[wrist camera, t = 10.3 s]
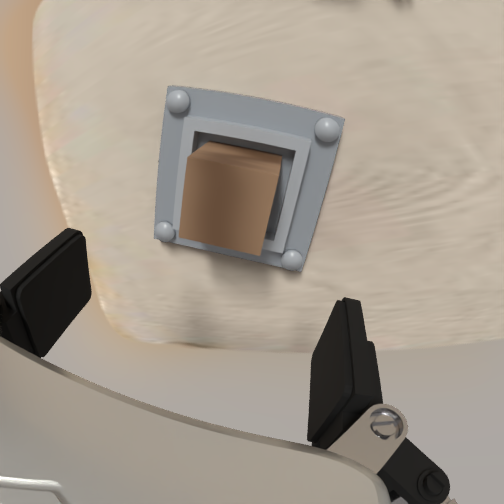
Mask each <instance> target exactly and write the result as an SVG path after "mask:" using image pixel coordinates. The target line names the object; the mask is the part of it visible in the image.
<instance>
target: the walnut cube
mask: <svg viewBox="0 0 504 504" xmlns="http://www.w3.org/2000/svg"><path fill="white" fill-rule="evenodd" d="M281 160H282V155H278V154H274V153H269V152H265V151H260V150H255V149H251V148H246V147H241V146H236V145H231V144H226V143H220V142H215V141H209V142H207V143H206V144H204V145H203V146H202V147H200V148H199V149H197V150H196V151H195V152H193V153H192V154H191V155H189V156H188V157H187V164H186V172H185V180H184V189H183V197H182V207H181V217H180V227H179V238H184V239H188V240H192V241H197V242H201V243H205V244H210V245H214V246H218V247H223V248H227V249H232V250H236V251H240V252H245V253H249V254H253V255H258V256H260V254H261V250H262V246H263V241H264V237H265V233H266V229H267V224H268V220H269V216H270V212H271V208H272V203H273V199H274V195H275V191H276V186H277V182H278V178H279V173H280V166H281Z"/></svg>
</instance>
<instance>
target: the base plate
mask: <svg viewBox="0 0 504 504" xmlns="http://www.w3.org/2000/svg"><path fill="white" fill-rule="evenodd" d="M344 121H345V119H344V118H343V117H339V116H336V115H332V114H328V113H325V112H321V111H317V110H313V109H309V108H305V107H300V106H296V105H292V104H287V103H283V102H278V101H273V100H268V99H263V98H258V97H252V96H247V95H241V94H235V93H229V92H222V91H215V90H208V89H201V88H192V87H183V86H168V88H167V95H166V103H165V110H164V118H163V127H162V135H161V145H160V155H159V166H158V178H157V191H156V206H155V225H154V239H159V240H160V241H162V242H172V243H176V244H180V245H185V246H189V247H194V248H198V249H202V250H207V251H211V252H215V253H220V254H224V255H229V256H233V257H238V258H242V259H246V260H251V261H255V262H260V263H264V264H269V265H273V266H278V267H282V268H285V269H287V270H290V271H294V270H296V271H300V272H301V271H302V268H303V265H304V261H305V258H306V255H307V252H308V249H309V245H310V242H311V239H312V236H313V232H314V229H315V226H316V222H317V219H318V216H319V212H320V209H321V205H322V202H323V198H324V195H325V191H326V188H327V184H328V181H329V177H330V174H331V170H332V166H333V163H334V159H335V155H336V152H337V148H338V144H339V140H340V137H341V133H342V129H343V125H344ZM209 141H215V142H220V143H226V144H231V145H236V146H241V147H246V148H251V149H255V150H260V151H265V152H269V153H274V154H278V155H282V160H281V166H280V173H279V178H278V182H277V186H276V191H275V195H274V199H273V203H272V208H271V212H270V216H269V220H268V224H267V229H266V233H265V237H264V241H263V246H262V250H261V254H260V256H258V255H253V254H249V253H245V252H240V251H236V250H232V249H227V248H223V247H218V246H214V245H210V244H205V243H201V242H197V241H192V240H188V239H184V238H179V227H180V217H181V207H182V197H183V189H184V180H185V172H186V164H187V157H188V156H189V155H191V154H192V153H193V152H195V151H196V150H197V149H199V148H200V147H202V146H203V145H204V144H206V143H207V142H209Z"/></svg>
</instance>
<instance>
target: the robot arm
mask: <svg viewBox="0 0 504 504" xmlns="http://www.w3.org/2000/svg"><path fill="white" fill-rule="evenodd" d="M0 288H1V292H0V504H457V502H456V501H455V499H452V500H450V498H449V497H448V494H449V490H450V484H449V479H448V477H447V475H446V474H445V473H444V471H443V470H442V469H440V468H439V467H438V466H437V465H436V464H435V463H434V462H432V461H431V460H430V459H429V458H428V457H427V456H426V455H425V454H424V453H423V452H421V451H420V450H419V449H418V448H417V447H416V446H415V445H414V444H413V443H412V442H410V441H409V440H408V439H407V438H406V435H407V431H408V425H407V421H406V419H405V417H404V415H403V414H402V413H401V412H400V411H399V410H398V409H397V408H395V407H393V406H391V405H387V404H383V399H382V392H381V385H380V378H379V371H378V365H377V358H376V352H375V346H374V343H373V342H371V341H367V337H366V331H365V325H364V319H363V313H362V307H361V302H360V301H359V300H354V299H350V298H346V297H344V298H343V299H342V301H340V300H337V301H336V303H335V306H334V308H333V310H332V312H331V315H330V317H329V319H328V322H327V324H326V326H325V328H324V331H323V333H322V335H321V337H320V339H319V342H318V344H317V346H316V348H315V350H314V352H313V355H312V360H311V380H310V400H309V418H308V433H307V440H308V441H310V442H312V446H309V445H304V444H299V443H295V442H290V441H285V440H280V439H275V438H270V437H265V436H260V435H256V434H252V433H248V432H243V431H239V430H235V429H231V428H227V427H223V426H219V425H215V424H211V423H207V422H204V421H200V420H197V419H193V418H190V417H187V416H183V415H180V414H177V413H173V412H170V411H167V410H164V409H161V408H158V407H155V406H152V405H150V404H146V403H144V402H141V401H138V400H135V399H133V398H130V397H127V396H125V395H122V394H120V393H117V392H114V391H112V390H109V389H107V388H104V387H102V386H100V385H97V384H95V383H93V382H90V381H88V380H85V379H83V378H81V377H79V376H77V375H75V374H72V373H70V372H68V371H66V370H64V369H62V368H59V367H57V366H55V365H53V364H51V363H49V362H47V361H45V360H43V359H41V357H44V356H45V355H46V354H47V353H48V352H49V350H50V349H51V348H52V346H53V345H54V344H55V342H56V341H57V340H58V339H59V337H60V336H61V335H62V334H63V332H64V331H65V330H66V328H67V327H68V326H69V325H70V323H71V322H72V321H73V320H74V318H75V317H76V316H77V314H78V313H79V312H80V311H81V310H82V308H83V307H84V306H85V305H86V304H87V303H88V301H89V300H90V298H91V284H90V277H89V268H88V259H87V250H86V239H85V237H84V236H83V234H82V232H81V231H79V230H75V229H71V228H67V229H65V230H64V231H63V232H61V233H60V234H59V235H58V236H56V237H55V238H54V239H52V240H51V241H50V242H49V243H48V244H46V245H45V246H44V247H43V248H41V249H40V250H39V251H38V252H36V253H35V254H34V255H33V256H32V257H30V258H29V259H28V260H27V261H26V262H25V263H24V264H22V265H21V266H20V267H19V268H18V269H17V270H15V271H14V272H13V273H12V274H11V275H10V276H9V277H8V278H6V279H5V280H4V281H3V282H2V283H1V284H0Z"/></svg>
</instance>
